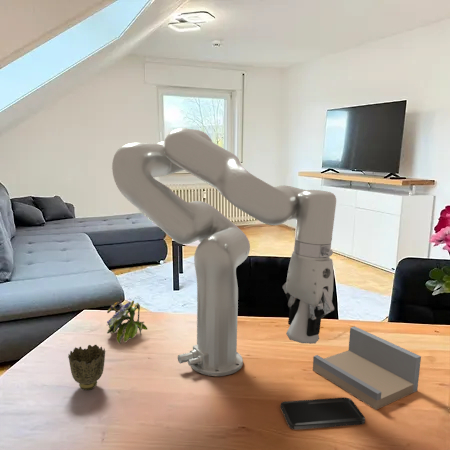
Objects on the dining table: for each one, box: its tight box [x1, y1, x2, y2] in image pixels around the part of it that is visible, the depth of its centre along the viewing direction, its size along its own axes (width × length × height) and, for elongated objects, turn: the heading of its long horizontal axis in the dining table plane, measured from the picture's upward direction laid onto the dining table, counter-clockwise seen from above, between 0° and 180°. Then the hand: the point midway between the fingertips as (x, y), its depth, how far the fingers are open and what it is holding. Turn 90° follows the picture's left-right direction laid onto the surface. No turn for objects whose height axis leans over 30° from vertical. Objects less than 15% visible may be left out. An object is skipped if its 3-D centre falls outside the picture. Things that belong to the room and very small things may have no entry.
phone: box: [280, 397, 366, 430], centre depth 83 cm, size 8×1×15 cm
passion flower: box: [106, 300, 148, 345], centre depth 116 cm, size 11×11×12 cm
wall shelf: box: [312, 325, 422, 410], centre depth 95 cm, size 14×18×8 cm
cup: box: [67, 344, 106, 391], centre depth 90 cm, size 8×7×8 cm
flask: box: [286, 300, 320, 344], centre depth 92 cm, size 7×7×10 cm
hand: (303, 328), depth 93 cm, fingers closed on flask, 5 cm apart
